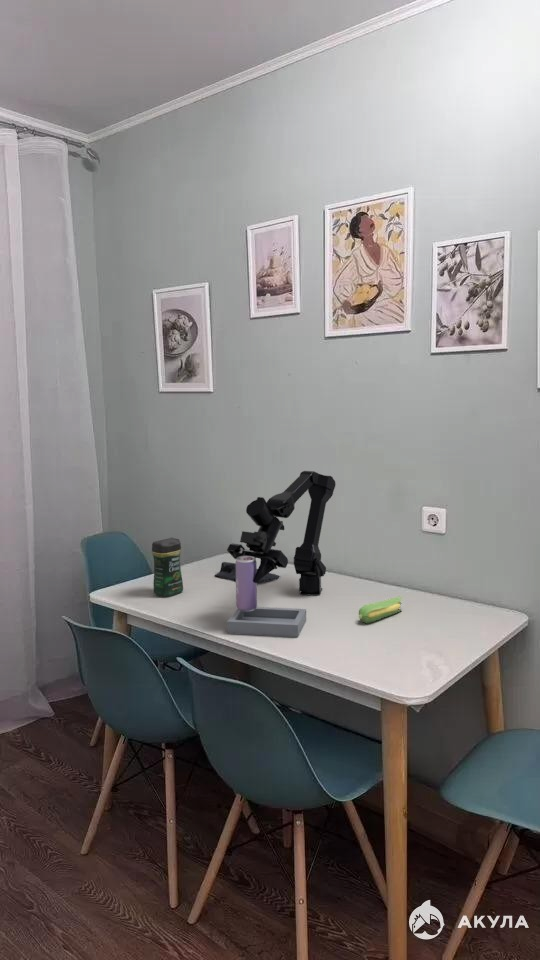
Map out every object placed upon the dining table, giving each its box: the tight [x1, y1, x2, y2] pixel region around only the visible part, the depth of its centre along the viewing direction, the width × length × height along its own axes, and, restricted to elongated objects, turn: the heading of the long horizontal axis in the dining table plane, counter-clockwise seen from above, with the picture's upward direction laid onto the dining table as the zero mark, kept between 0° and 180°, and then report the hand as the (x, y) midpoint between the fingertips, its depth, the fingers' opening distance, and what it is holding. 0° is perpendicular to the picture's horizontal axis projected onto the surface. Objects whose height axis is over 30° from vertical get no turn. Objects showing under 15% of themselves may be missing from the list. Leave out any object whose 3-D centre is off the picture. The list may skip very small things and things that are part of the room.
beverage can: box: [235, 556, 258, 612], centre depth 200 cm, size 6×6×15 cm
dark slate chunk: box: [214, 561, 281, 584], centre depth 248 cm, size 15×22×5 cm
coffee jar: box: [151, 537, 184, 598], centre depth 231 cm, size 10×8×19 cm
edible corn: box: [358, 596, 404, 624], centre depth 205 cm, size 5×20×5 cm
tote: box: [226, 606, 307, 638], centre depth 199 cm, size 20×13×4 cm, turn 77°
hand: (245, 580), depth 199 cm, fingers closed on beverage can, 6 cm apart
